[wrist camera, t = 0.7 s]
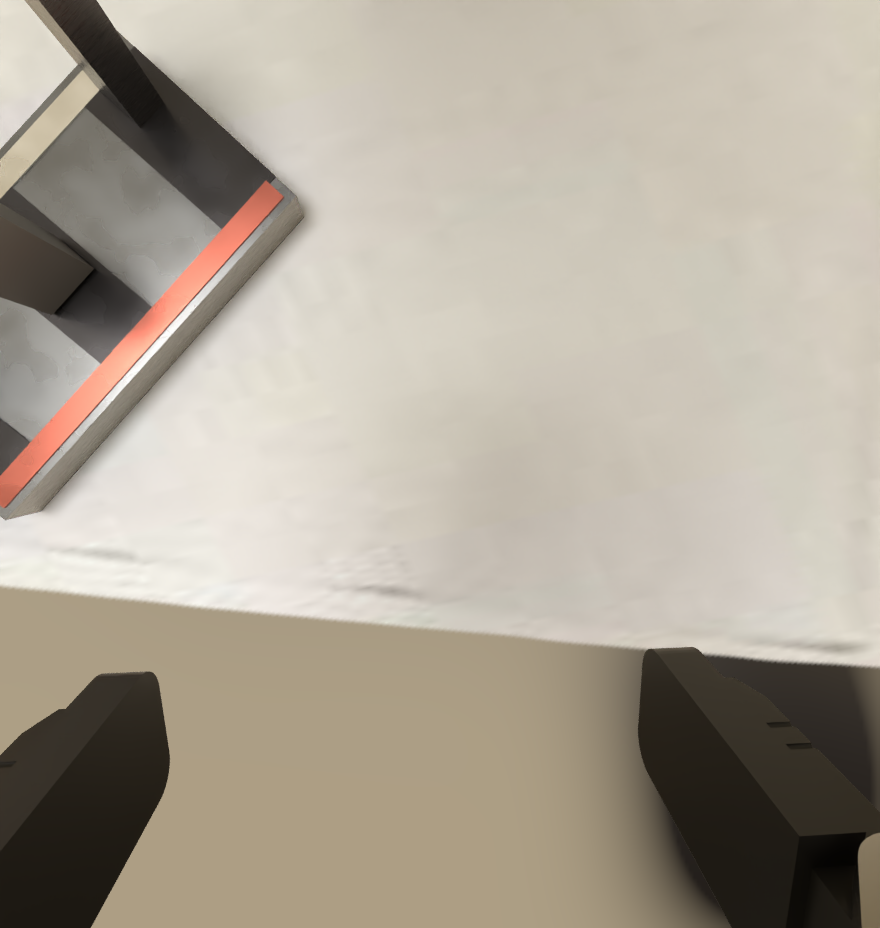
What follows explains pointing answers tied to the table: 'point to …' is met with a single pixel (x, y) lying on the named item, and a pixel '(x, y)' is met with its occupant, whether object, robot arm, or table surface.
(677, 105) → the table surface
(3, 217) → the lever
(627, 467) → the table surface
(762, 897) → the robot arm
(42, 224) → the pillared base stand
